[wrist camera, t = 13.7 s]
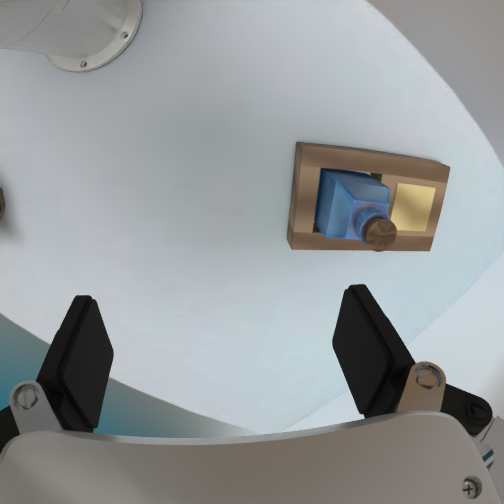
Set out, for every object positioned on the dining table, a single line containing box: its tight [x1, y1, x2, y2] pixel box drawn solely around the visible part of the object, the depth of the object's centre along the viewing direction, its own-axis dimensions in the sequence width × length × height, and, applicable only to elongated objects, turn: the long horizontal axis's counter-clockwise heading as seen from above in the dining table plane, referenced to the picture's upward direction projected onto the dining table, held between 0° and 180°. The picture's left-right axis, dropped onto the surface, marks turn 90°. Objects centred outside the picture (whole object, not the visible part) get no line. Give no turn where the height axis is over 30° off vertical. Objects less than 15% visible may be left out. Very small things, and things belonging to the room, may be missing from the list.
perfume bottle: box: [314, 168, 397, 252], centre depth 32 cm, size 6×6×12 cm
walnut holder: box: [287, 142, 450, 251], centre depth 36 cm, size 12×20×3 cm, turn 87°
